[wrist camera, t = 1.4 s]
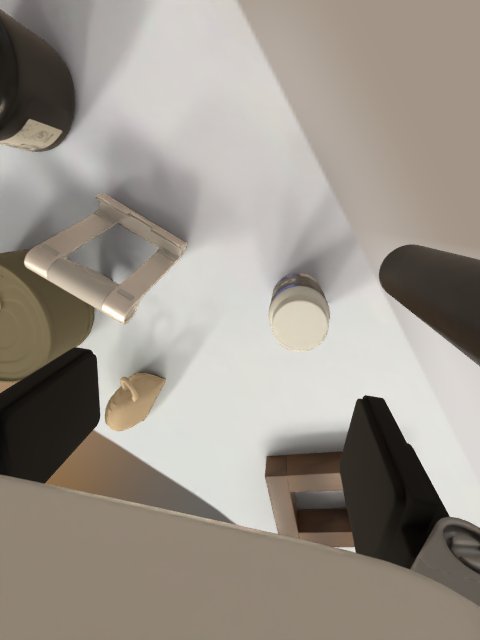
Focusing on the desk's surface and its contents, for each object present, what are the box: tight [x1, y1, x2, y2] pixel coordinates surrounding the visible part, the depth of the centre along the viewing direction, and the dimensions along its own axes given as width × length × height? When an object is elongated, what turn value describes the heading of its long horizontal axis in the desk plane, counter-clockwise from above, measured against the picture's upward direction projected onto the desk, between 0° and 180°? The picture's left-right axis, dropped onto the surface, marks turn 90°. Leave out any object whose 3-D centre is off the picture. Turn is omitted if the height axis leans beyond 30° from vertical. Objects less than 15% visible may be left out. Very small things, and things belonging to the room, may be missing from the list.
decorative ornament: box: [105, 372, 166, 431], centre depth 33 cm, size 4×8×5 cm, turn 149°
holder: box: [265, 452, 355, 547], centre depth 35 cm, size 11×11×3 cm
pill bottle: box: [269, 273, 330, 351], centre depth 26 cm, size 5×5×8 cm
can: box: [0, 250, 94, 382], centre depth 31 cm, size 12×12×7 cm
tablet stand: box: [24, 194, 187, 324], centre depth 27 cm, size 9×8×8 cm
